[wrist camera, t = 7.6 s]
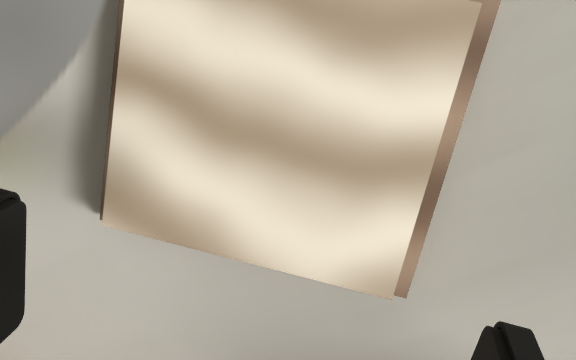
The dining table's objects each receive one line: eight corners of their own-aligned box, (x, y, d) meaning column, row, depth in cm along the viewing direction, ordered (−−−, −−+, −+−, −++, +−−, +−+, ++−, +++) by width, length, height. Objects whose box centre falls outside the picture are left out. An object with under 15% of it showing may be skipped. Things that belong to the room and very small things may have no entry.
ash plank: (145, -66, 24) (131, -71, 23) (475, 3, 23) (482, 3, 22) (115, 214, 29) (101, 225, 27) (390, 285, 28) (392, 300, 26)
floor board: (163, -368, 22) (136, -416, 19) (589, -299, 20) (620, -341, 18) (108, 213, 30) (84, 231, 28) (405, 288, 29) (408, 315, 27)
